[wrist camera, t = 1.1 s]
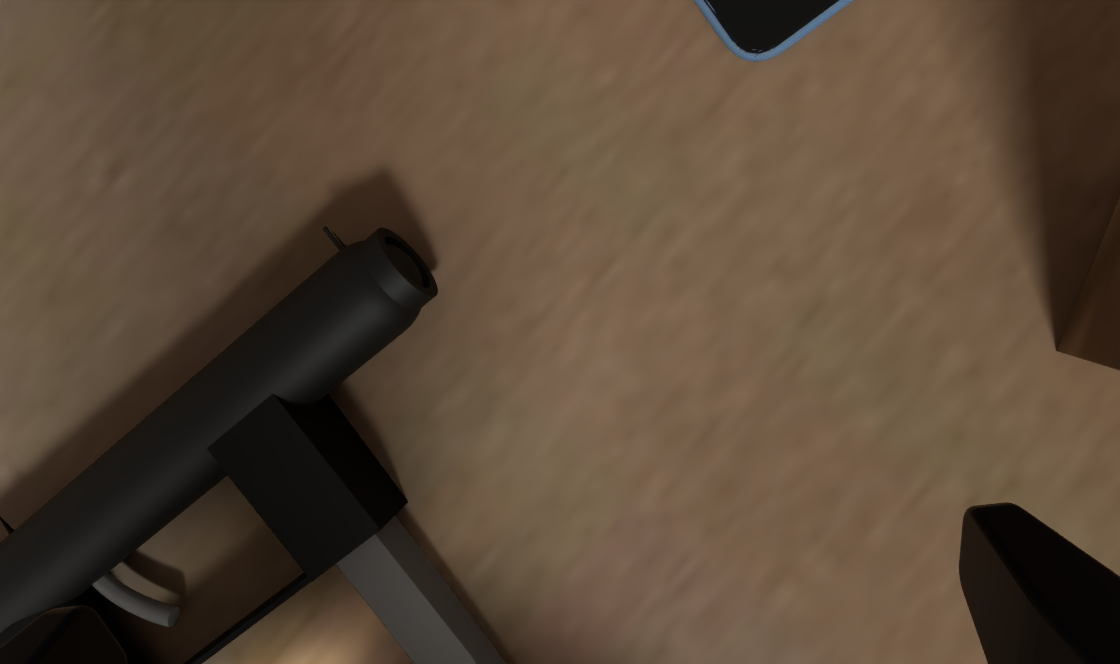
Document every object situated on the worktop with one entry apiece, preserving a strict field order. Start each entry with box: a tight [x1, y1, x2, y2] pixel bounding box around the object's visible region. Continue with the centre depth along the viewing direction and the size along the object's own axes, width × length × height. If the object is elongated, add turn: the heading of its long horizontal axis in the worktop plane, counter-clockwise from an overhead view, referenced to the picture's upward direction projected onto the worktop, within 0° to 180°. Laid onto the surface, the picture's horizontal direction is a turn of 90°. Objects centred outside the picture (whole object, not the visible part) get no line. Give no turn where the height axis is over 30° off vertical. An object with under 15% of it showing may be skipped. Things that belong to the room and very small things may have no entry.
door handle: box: [0, 227, 506, 664], centre depth 27 cm, size 3×20×16 cm
